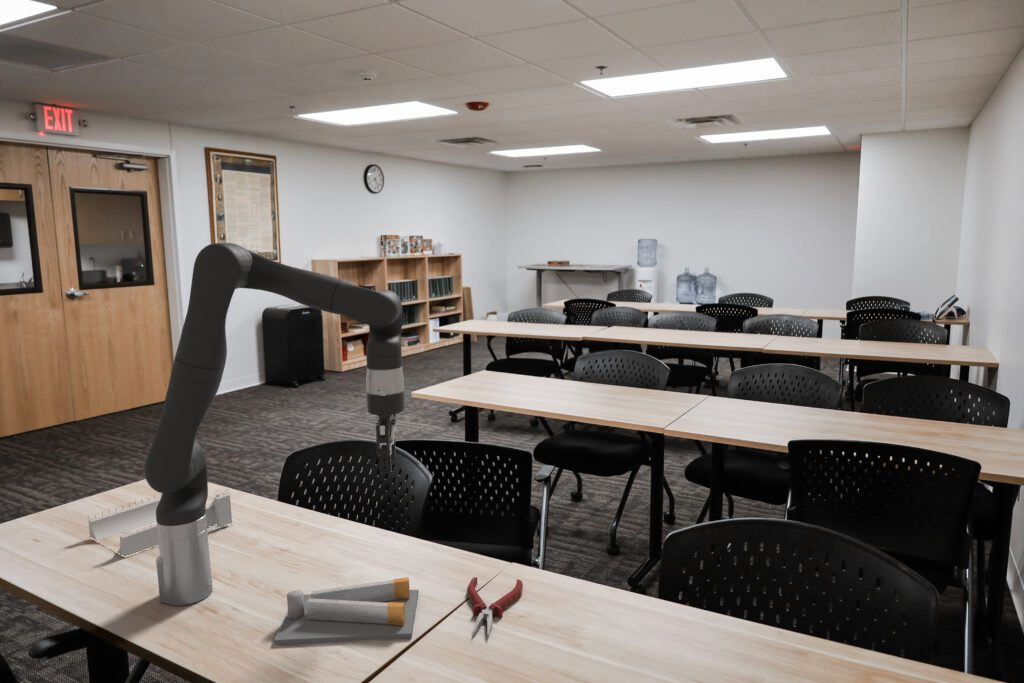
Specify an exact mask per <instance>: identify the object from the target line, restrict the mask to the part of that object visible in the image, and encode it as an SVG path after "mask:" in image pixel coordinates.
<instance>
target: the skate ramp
mask: <svg viewBox="0 0 1024 683" xmlns="http://www.w3.org/2000/svg"><path fill="white" fill-rule="evenodd" d="M230 494H231V493H230V490H229V489H227V490H226V492H222V493H218V494H216V493H215V492H214V498H213V500H212V501H211V503H210V504H209V505H208V503H206V520H207V527H209V526H211V527H213V526H212V525H214V524H217V525H216V529H217V528H218V527H219V528H220V529H221V528H222V527H224V526H226V525H227V526H228V524H231V525H232V526H233V524H232V523H233V517H232V506H231V504H232V503H231V495H230ZM157 495H158V496H157ZM156 496H157V498H156ZM161 496H162V494H160V495H159V494H157V493H156V494H154V495H153V497H152V498H151V497H150V498H148V499H146V497H145V498H142V499H140V500H141V503H139V504H137V500H135V501H134V503H133V501H132V502H128V503H127V505H128V507H126V508H124V505H121V506H122V507H120V505H119V506H116V507H114V509H115V511H114V512H111V509H110V508H109V509H106V510H103V511H101V516H98V514H97V512H96V513H93V514H90V515H88V516H87V519H88V520H87V521H88V527H89V528H88V530H89V538H90V537H92V538H94V539H96V540H100V539H103V538H106V537H109V536H113V535H115V534H120V533H122V532H125V531H129V530H131V529H132V530H133V529H136V528H139V527H142V526H145V525H148V524H152V523H155V522H157V521H156V508H157V506H158V504H159V502H160V499H161ZM158 497H159V498H158ZM153 498H155V499H153ZM144 499H145V500H144ZM147 500H148V501H147ZM144 501H147V502H144ZM131 503H133V504H131ZM132 505H133V506H132ZM207 505H208V506H207ZM118 509H119V510H118ZM120 509H121V510H120ZM117 510H118V511H117ZM105 511H106V512H105ZM107 511H108V512H107ZM103 512H105V513H106V514H105V513H103ZM107 513H108V514H107ZM96 514H97V515H96ZM104 514H105V515H104ZM97 516H98V517H97ZM94 517H95V518H94ZM231 525H230V526H231ZM214 526H215V525H214ZM209 528H210V527H209ZM220 529H219V530H220ZM221 530H222V529H221ZM129 532H130V531H129ZM122 534H123V533H122ZM156 545H159V540H158V530H157V524H154V525H151V526H149V527H146V528H145V527H144V528H143V529H140V530H137V531H134V532H131V533H128V534H125V535H122V536H120V548H119V550H118V551H117V552H118V553H120V554H122V555H124V556H127V555H130V554H133V553H136V552H139V551H142V550H144V549H147V548H150V547H153V546H156Z"/></svg>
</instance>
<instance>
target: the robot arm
mask: <svg viewBox="0 0 1024 683" xmlns="http://www.w3.org/2000/svg"><path fill="white" fill-rule="evenodd" d="M194 260H195V261H194V264H193V267H192V268H193V269H192V278H191V284H190V292H189V301H188V307H187V311H186V316H185V318H184V322H183V326H182V329H181V332H180V338H179V341H178V345H177V349H176V352H175V356H174V358H173V359H174V360H173V363H172V364H173V365H172V366H171V367H172V368H171V372H170V377H169V382H168V384H167V390H166V395H165V398H164V402H163V407H162V412H161V416H160V420H159V424H158V426H157V430H156V433H155V434H154V435H155V436H154V438H153V441H152V443H151V446H150V449H149V451H148V454H147V457H146V460H145V463H144V471H143V472H144V477H145V480H146V482H147V485H149V487H150V488H151V489H153V490H154V491H155V492H157V493H159V494H161V495H162V496H161V495H160V498H161V499H160V502H159V504H158V506H157V508H156V521H157V530H158V540H159V546H158V548H159V549H158V550H159V556H157V558H156V559H155V565H156V566H155V567H156V573H157V583H158V594H159V602H160V603H161V604H162V603H164V604H168V605H170V606H174V607H175V606H176V607H177V606H178V607H179V606H188V605H191V604H195V603H198V602H200V601H202V600H205V599H206V598H208V597H209V595H211V594H212V592H213V578H212V566H211V556H210V555H211V554H210V546H209V545H210V544H209V543H210V542H209V533H208V531H209V530H208V528H207V520H206V507H207V505H206V504H207V501H208V496H209V487H208V486H209V482H208V465H207V464H208V463H207V456H206V454H205V451H204V449H203V448H202V446H201V444H199V443H198V442H197V441H196V437H197V434H198V431H199V428H200V425H202V424H201V423H202V422H203V420H204V418H205V416H206V414H207V412H208V411H209V409H210V407H211V405H212V403H213V402H214V401H215V400H214V399H215V398H216V395H217V393H218V391H219V388H220V385H221V382H222V379H223V374H224V370H225V367H226V362H227V354H228V345H227V332H226V322H227V321H226V320H227V317H228V316H227V315H228V312H229V307H230V304H231V301H232V299H233V295H234V293H235V290H237V289H248V290H257V291H264V292H268V293H273V294H275V295H279V296H280V297H281V296H282V297H285V298H287V299H290V300H291V301H293V302H296V303H298V304H300V305H304V306H306V307H308V308H312V309H316V310H319V311H323V312H326V313H329V314H334V315H340V316H343V317H346V318H348V319H351V320H354V321H356V322H359V323H360V324H361V323H362V324H364V325H366V326H367V325H368V329H369V330H368V332H369V333H368V335H369V337H368V340H367V343H366V349H365V350H366V354H365V356H366V377H365V387H366V388H365V389H366V409H367V410H366V411H367V412H368V414H370V415H373V416H378V419H377V422H375V435H376V436H375V437H376V438H375V439H376V440H375V441H376V451H375V453H376V455H377V456H378V459H379V460H378V461H379V473H380V474H390V473H391V472H392V460H393V461H394V460H395V459H396V454H397V453H396V452H397V451H396V441H397V435H398V419H397V415H398V414H401V413H403V412H404V411H405V410H406V409H405V378H404V371H403V356H402V355H403V354H402V353H403V352H402V342H401V339H402V331H403V330H402V328H403V304H402V301H401V299H400V297H399V296H398V295H397V294H396V293H395V292H394V291H391V290H389V289H381V290H375V289H370V288H366V287H362V286H358V285H355V284H354V283H353V282H350V281H349V280H345V279H342V278H339V277H335V276H332V275H329V274H322V273H320V272H315V271H312V270H306V269H301V268H299V267H294V266H291V265H286V264H284V263H280V262H277V261H275V260H272V259H270V258H267V257H265V256H264V255H263V256H262V255H260V254H259V253H256V252H254V251H251V250H249V249H248V248H245V247H243V246H241V245H239V244H236V243H232V242H214V243H211V244H208V245H206V246H204V247H203V248H201V249H200V251H199V252H198V253H197V256H196V257H195V259H194ZM382 446H383V447H384V448H382Z"/></svg>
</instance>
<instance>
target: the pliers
mask: <svg viewBox="0 0 1024 683" xmlns="http://www.w3.org/2000/svg"><path fill="white" fill-rule="evenodd" d="M476 585H477V586H478V577H476V576H475V577H474V576H473V577H472V578H471V580H470V582H469V584H468V585H467V587H466V588H467V589H466V591H467V595H468V598H469V600H470V602H471V603H472V605H473V608H472V616H473V617H475V616H476V617H475V618H476V620H475V624H474V628H473V632H472V637H474V636H475V635H476V634H477V633H478V632H479V630H480V629H481V628H482V627H481V626H483V623H484V622H486V624H487V626H486V627H487V628H486V630H487V637H489V636H490V632H491V631H492V628H493V618H496V616H497V618H499V619H501V618H503V611H505V610H506V609H508V608H509V607H511V606H512V605H513V604H514V603H515V602H517V601H518V600H519V599H520V598H521V596H522V594H523V587H524V584H523V581H522V579H516V582H515V587H514V588H513V589H512V590H510V591H509V592H507V593H506V594H505V595H503V596H502V597H500V598H498V600H495V602H492V603H491V604H490V605H489V606H487V604H486V603H485V602H484V600H483V599H482V598H481V596H480V594H479V593H478V592H477V590H476V589H475V587H476V588H477V586H476ZM487 607H488V608H487ZM480 627H481V628H480Z"/></svg>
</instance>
